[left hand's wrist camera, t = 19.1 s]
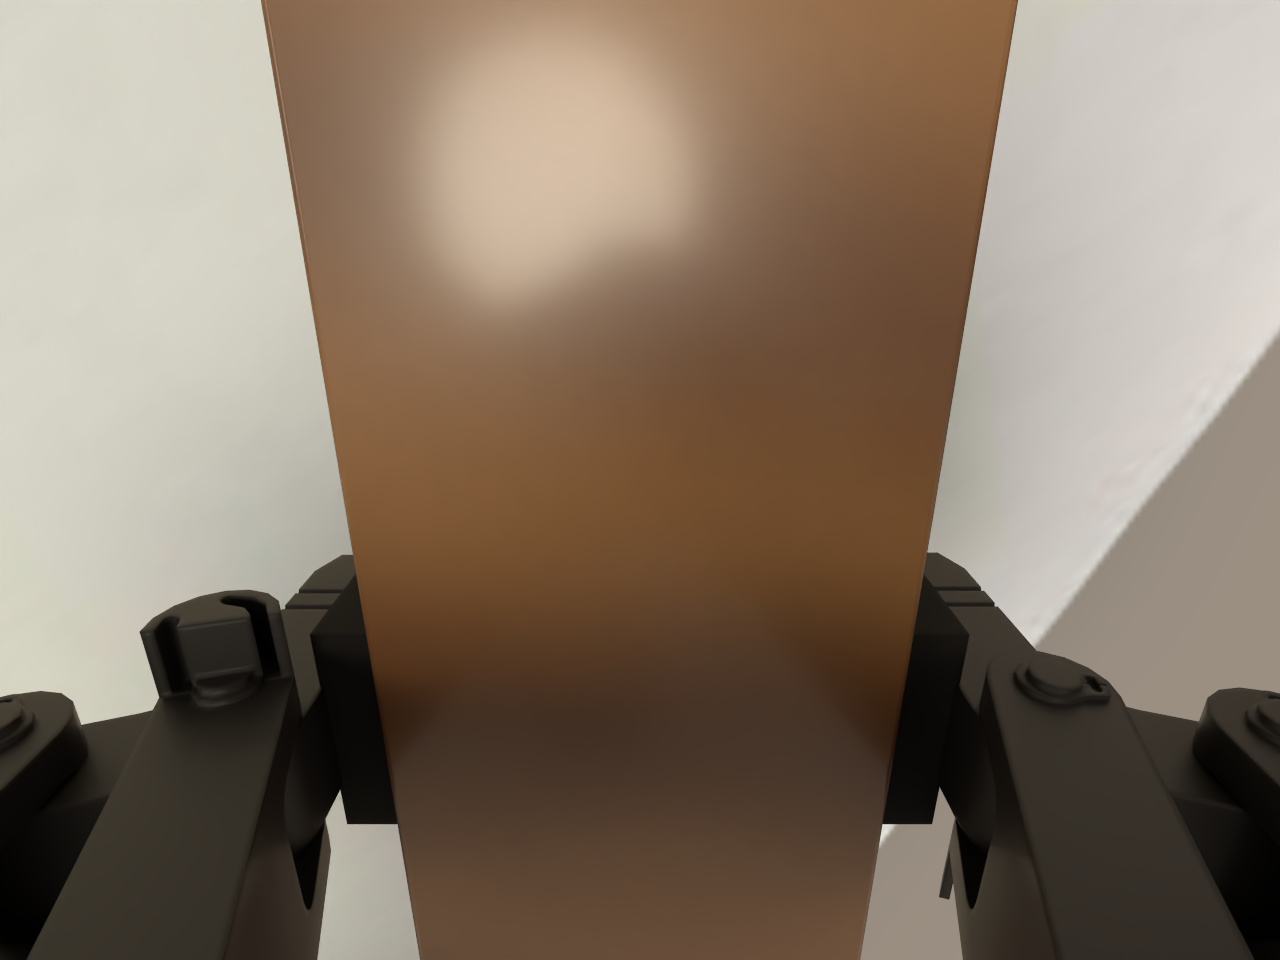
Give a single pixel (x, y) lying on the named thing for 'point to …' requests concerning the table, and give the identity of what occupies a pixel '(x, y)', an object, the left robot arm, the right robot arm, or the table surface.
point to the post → (639, 437)
